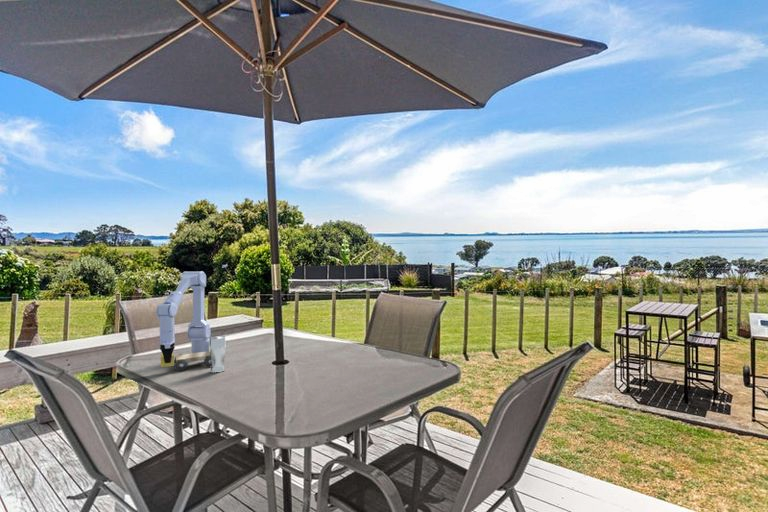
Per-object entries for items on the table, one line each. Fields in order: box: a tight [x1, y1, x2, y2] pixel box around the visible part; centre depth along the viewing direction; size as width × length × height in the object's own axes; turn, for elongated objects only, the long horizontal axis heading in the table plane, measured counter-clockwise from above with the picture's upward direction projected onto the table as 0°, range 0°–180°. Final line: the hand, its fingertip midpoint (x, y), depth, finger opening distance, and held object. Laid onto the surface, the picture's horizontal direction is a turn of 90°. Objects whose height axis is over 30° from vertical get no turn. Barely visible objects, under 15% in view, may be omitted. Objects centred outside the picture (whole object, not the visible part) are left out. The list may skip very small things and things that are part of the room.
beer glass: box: [208, 335, 227, 374], centre depth 173 cm, size 7×7×15 cm
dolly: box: [174, 351, 211, 372], centre depth 182 cm, size 17×12×10 cm
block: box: [160, 353, 175, 368], centre depth 172 cm, size 5×4×4 cm
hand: (167, 361), depth 172 cm, fingers closed on block, 4 cm apart
